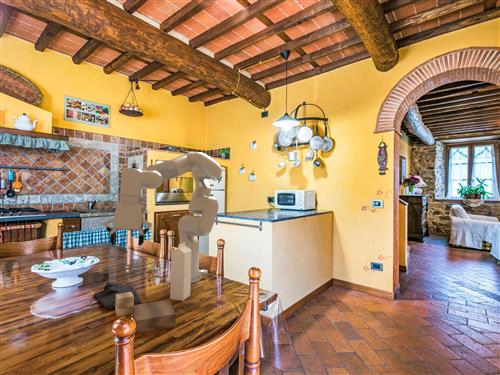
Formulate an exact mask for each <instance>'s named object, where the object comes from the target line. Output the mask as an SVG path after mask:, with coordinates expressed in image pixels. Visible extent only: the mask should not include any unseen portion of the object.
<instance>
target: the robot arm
mask: <svg viewBox="0 0 500 375" xmlns="http://www.w3.org/2000/svg"><path fill="white" fill-rule="evenodd" d="M190 171H191V175H192V177H193V179H194V183H195V189H194V191H193V193H192V195H191V198H190V201H189V203H188V206H187V208H188V211H189V213H190V214H189V215H184V216H182V217H181V218H179V220H178V223H177V227H178V228H177V230H178V233H179V244H182V243H184V242H185V243H186V246H187V247H188V248H189V249H191V250H192V253H191V284H192V283H197V282H200V281H201V279H202V275H208V273H209V271H208V269H200V267H199V265H200V264H199V263H200V241H199V238H198V236H199V237H207V236H209V235H210V234H211V232H212V230H213V227H214V224H215V221H216V218H217V216H218V214H219V213H218V212H219V206H220V204H219V201H218V199H216V198H215V197H213V196H210V195H211V193H212V187H211V185H210V183H209V180H217V179H220V177H221V176H222V172H223V171H222V167H221V165H220V164H219V163H218V162H217V161H216V160H215V159H213V158H212V157H211V156H209V155H208V154H206V153H204V152H189V153H184V154H183V155H179V156H177V157H174V158H171V159H169V160H165V161H162V162H159V163H156V164H151V165H149V166H146V167H144V168H133V167H126V168H123V169H122V170H121V178H120V187H119V188H120V190H119V191H120V192H119V203H117V204H116V208H115V212H114V217H113V218H111V219H109V220H107V221H105V222H104V223H103V224H104V227H105V229H106V231H107V232H108V233H109V235H110V239H109V240H110V245H111V246H115V245H116V244H117V239H118V238H117V236H118V234H117V232H118V231H119V230H121V231H137V232H138V233H139V235H138V245H137V246H139V247H141V246H142V245H143V244H144V242H145V235H146V234H147V233H148V232H149V231H150V230H151V229H152V227H153V223H152V222H150V221H148V220H147V219H145V216H144V215H145V214H144V213H145V212H144V204H142V202H145V201H146V199H145V197H143V196H142V193H143V192H142V190H143V189H146V190H154V189H158V188H160V187H161V186H162V185H163V182H164V181H165V180H171V179H177V178H178V177H180V176H183V175H185V174H188V172H189V173H190ZM191 214H193V215H191ZM112 223H113V224H112ZM111 224H112V227H113V228H112V227H111ZM145 225H146V228H145V229H144V226H145Z"/></svg>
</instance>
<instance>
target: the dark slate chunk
mask: <svg viewBox="0 0 500 375" xmlns="http://www.w3.org/2000/svg"><path fill="white" fill-rule="evenodd" d="M126 292H132V294H133V295H134V305H138V304H143V302H142V300H141V299H140V297H139V294H138V292H137V290H136V289H135V288H134V286H131V285H127V284H124V283H121V282H113V281H107V282H106V283H105V285H104V287H103V290H101V291H96V292H94V293H93V294H94V296H95V298H96V299H97V301H99V303H101V304H102V305H103V307H104V308H106V309H107V310H111V309H115V304H116V294H121V293H126Z"/></svg>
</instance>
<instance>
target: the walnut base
mask: <svg viewBox="0 0 500 375" xmlns="http://www.w3.org/2000/svg"><path fill="white" fill-rule="evenodd" d="M176 315H177V314H176V311H175V309H174V306H173V305H172V302H171V299H166V300H159V301H151V302H145V303H142V304H138V305H133V313H132V319H133V318H134V320H135V322H136V332H135V334H134V335H139V334H143V333H144V334H145V333H149V332H153V331H159V330H160V331H161V330H163V329H164V330H165V329H169V328H175V327H176Z"/></svg>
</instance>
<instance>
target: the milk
mask: <svg viewBox="0 0 500 375" xmlns="http://www.w3.org/2000/svg"><path fill="white" fill-rule="evenodd" d="M191 253H192V250H191V249H189V248H188V247H187V246H186V243H185V242H184V243H182V244H180V243H179V244H178V245H177V249H175V250H173V251H171V258H170V259H171V262H170V285H169V286H170V287H169V288H170V292H169V295H170V296H169V300H174V301H182V302H184V301H185V300H186V299H187V298H189V297H190V296H191V284H192V283H191Z"/></svg>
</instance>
